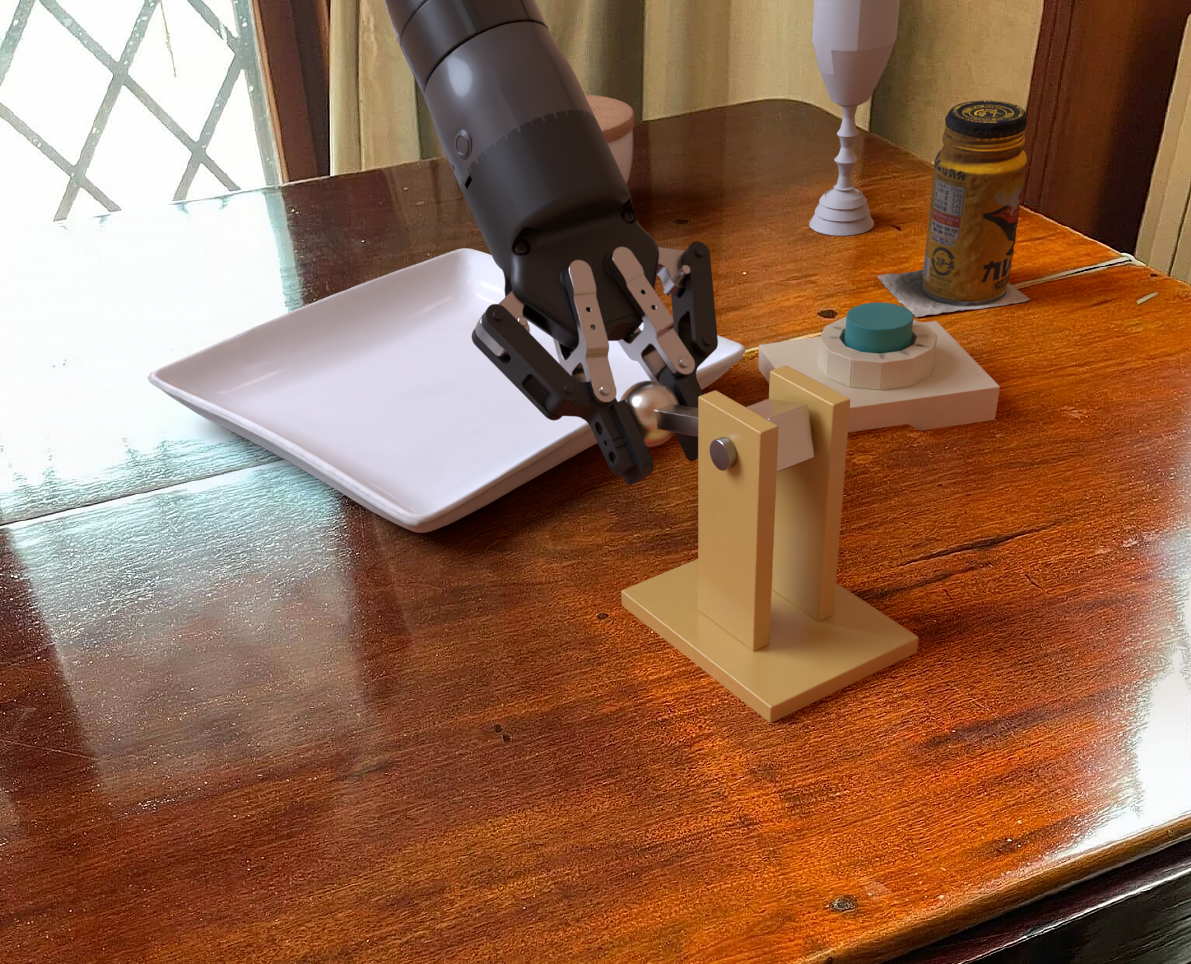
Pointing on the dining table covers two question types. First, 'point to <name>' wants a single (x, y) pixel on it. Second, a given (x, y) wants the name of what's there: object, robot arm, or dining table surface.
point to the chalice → (850, 93)
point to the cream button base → (893, 378)
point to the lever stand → (770, 562)
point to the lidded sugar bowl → (615, 129)
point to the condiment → (970, 214)
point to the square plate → (396, 393)
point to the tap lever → (666, 416)
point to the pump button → (878, 328)
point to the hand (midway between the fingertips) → (672, 464)
